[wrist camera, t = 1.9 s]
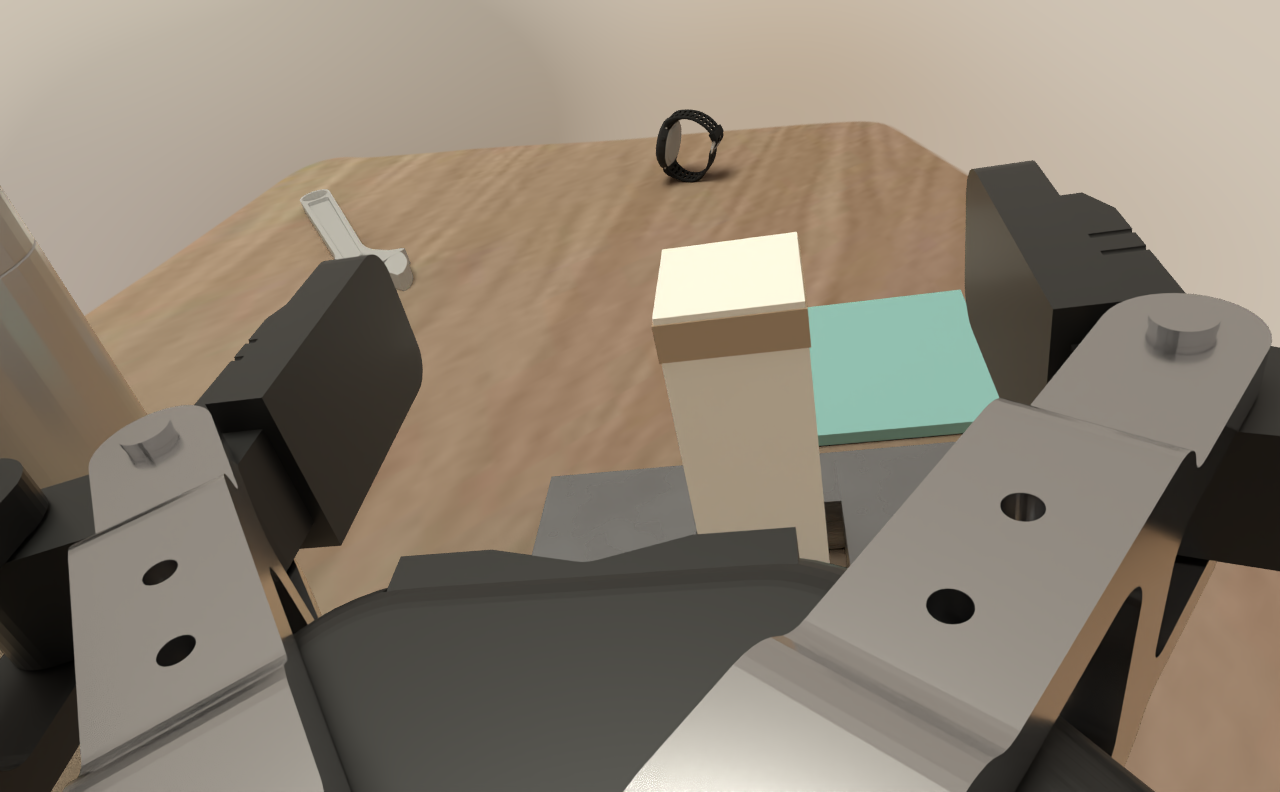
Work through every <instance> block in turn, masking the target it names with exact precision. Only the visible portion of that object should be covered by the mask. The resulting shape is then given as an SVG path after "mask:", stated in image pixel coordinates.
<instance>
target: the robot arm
mask: <svg viewBox="0 0 1280 792" xmlns="http://www.w3.org/2000/svg"><path fill="white" fill-rule="evenodd" d="M965 296H966V305H967V312H968V317H969V322H970V325H971V328H972V331H973V334H974V336H975V339H976V341H977V343H978V346H979V348H980V351H981V353H982V356H983V358H984V361H985V363H986V366H987V368H988V371H989V373H990V376H991V378H992V381H993V383H994V386H995V388H996V391H997V393H998V396H999V398H998V399H995V400H994V401H992V402H991V403H990V404H989V405H988V406H987V407H986V408H985V409H984V410H983V411H982V412H981V413H980V414H979V416H978V417H977V418H976V419H975V420H974V421H973V423H972V424H971V425H970V426H969V427H968V428H967V430H966V431H965V432H964V433H963V434H962V435H961V437H960V438H959V439H958V440H957V441H956V443H955V444H954V445H953V446H952V447H951V448H950V450H949V451H948V452H947V453H946V454H945V455H944V457H943V458H942V459H941V460H940V461H939V462H938V464H937V465H936V466H935V467H934V468H933V469H932V471H931V472H930V473H929V474H928V475H927V476H926V478H925V479H924V480H923V481H922V482H921V483H920V485H919V486H918V487H917V488H916V489H915V491H914V492H913V493H912V494H911V495H910V496H909V498H908V499H907V500H906V501H905V502H904V503H903V505H902V506H901V507H900V508H899V509H898V510H897V512H896V513H895V514H894V515H893V516H892V517H891V519H890V520H889V521H888V522H887V523H886V524H885V526H884V527H883V528H882V529H881V530H880V531H879V533H878V534H877V535H876V536H875V537H874V539H873V540H872V541H871V542H870V543H869V544H868V546H867V547H866V548H865V549H864V550H863V551H862V553H861V554H860V555H859V556H858V557H857V558H856V560H855V561H854V562H853V563H852V564H851V565H850V567H849V568H845V567H842V566H838V565H834V564H830V563H825V562H821V561H817V560H810V559H804V558H800V557H799V549H798V541H797V534H796V527H788V528H775V529H761V530H748V531H735V532H721V533H708V534H695V535H689V536H686V537H682V538H678V539H674V540H670V541H667V542H663V543H659V544H655V545H652V546H648V547H644V548H640V549H636V550H633V551H629V552H625V553H621V554H618V555H614V556H610V557H606V558H602V559H599V560H594V561H588V562H577V561H569V560H562V559H555V558H548V557H540V556H533V555H526V554H519V553H511V552H504V551H497V550H482V551H469V552H456V553H443V554H429V555H416V556H403V557H401V558H400V560H399V562H398V565H397V567H396V570H395V572H394V574H393V577H392V579H391V582H390V584H389V586H388V588H385V589H382V590H379V591H376V592H373V593H370V594H368V595H365V596H362V597H360V598H357V599H355V600H353V601H350V602H348V603H346V604H344V605H342V606H340V607H337V608H335V609H333V610H332V611H330V612H328V613H326V614H324V615H323V616H322V614H321V612H320V610H319V607H318V605H317V602H316V600H315V598H314V595H313V593H312V591H311V588H310V586H309V584H308V581H307V579H306V577H305V575H304V573H303V571H302V570H301V568H300V566H299V565H298V563H297V561H296V559H295V556H296V554H297V552H298V551H299V549H303V548H315V547H328V546H341V545H342V543H343V541H344V539H345V537H346V535H347V533H348V531H349V529H350V527H351V525H352V523H353V521H354V519H355V517H356V515H357V513H358V511H359V509H360V507H361V505H362V503H363V501H364V499H365V497H366V495H367V493H368V491H369V489H370V487H371V485H372V483H373V481H374V479H375V477H376V475H377V473H378V471H379V469H380V467H381V465H382V463H383V461H384V459H385V457H386V455H387V453H388V451H389V449H390V447H391V445H392V443H393V441H394V439H395V437H396V435H397V433H398V431H399V429H400V427H401V425H402V423H403V421H404V419H405V417H406V415H407V413H408V411H409V409H410V407H411V405H412V403H413V401H414V399H415V397H416V395H417V393H418V391H419V389H420V386H421V382H422V373H423V369H422V359H421V354H420V350H419V347H418V344H417V341H416V339H415V336H414V334H413V331H412V329H411V326H410V324H409V321H408V319H407V316H406V314H405V311H404V308H403V306H402V303H401V301H400V298H399V296H398V293H397V291H396V288H395V286H394V283H393V281H392V278H391V276H390V273H389V271H388V269H387V267H386V265H385V264H384V262H383V261H382V260H381V259H380V258H379V257H378V256H376V255H373V254H371V255H363V256H356V257H349V258H342V259H335V260H329V261H324V262H321V263H320V264H319V265H318V267H317V268H316V269H315V270H314V271H313V273H312V274H311V275H310V276H309V278H308V279H307V280H306V281H305V282H304V284H303V285H302V286H301V287H300V289H299V290H298V291H297V292H296V293H295V295H294V296H293V297H292V298H291V300H290V301H289V302H288V303H287V304H286V305H285V306H284V307H282V308H281V309H279V310H278V311H277V312H275V313H274V314H272V315H271V316H269V317H268V318H267V319H266V320H265V321H264V322H263V323H262V324H261V326H260V327H259V328H258V329H257V330H256V332H255V333H254V334H253V335H252V336H251V338H250V339H249V344H245V345H244V346H243V347H242V348H241V350H240V351H239V352H238V353H237V354H236V356H235V357H234V358H235V361H231V362H230V363H229V364H228V365H227V366H226V368H225V369H224V370H223V371H222V372H221V374H220V375H219V376H218V377H217V378H216V380H215V381H214V382H213V383H212V384H211V386H210V387H209V388H208V389H207V390H206V392H205V393H204V394H203V395H202V396H201V398H200V399H199V400H198V401H197V402H196V404H195V405H183V406H176V407H171V408H167V409H163V410H160V411H157V412H154V413H152V414H149V415H147V413H146V412H145V410H144V409H143V407H142V405H141V404H140V402H139V401H138V399H137V398H136V396H135V395H134V393H133V391H132V390H131V388H130V387H129V385H128V384H127V382H126V381H125V379H124V377H123V376H122V374H121V373H120V371H119V370H118V368H117V366H116V365H115V363H114V362H113V360H112V359H111V357H110V356H109V354H108V352H107V351H106V349H105V348H104V346H103V345H102V343H101V341H100V340H99V338H98V337H97V335H96V334H95V332H94V331H93V329H92V327H91V326H90V324H89V323H88V321H87V320H86V318H85V316H84V315H83V313H82V312H81V310H80V309H79V307H78V306H77V304H76V303H75V301H74V299H73V298H72V296H71V295H70V293H69V292H68V290H67V288H66V287H65V286H64V284H63V282H62V281H61V279H60V277H59V276H58V275H57V273H56V271H55V270H54V268H53V267H52V265H51V263H50V262H49V260H48V259H47V257H46V256H45V254H44V252H43V251H42V249H41V248H40V246H39V245H38V243H37V242H36V240H35V239H34V238H33V236H32V234H31V233H30V232H29V230H28V228H27V227H26V225H25V223H24V222H23V220H22V219H21V217H20V216H19V214H18V213H17V211H16V209H15V208H14V206H13V205H12V203H11V202H10V200H9V199H8V197H7V195H6V194H5V192H4V191H3V189H2V188H1V186H0V650H1V651H2V652H3V653H4V655H3V656H2V658H1V659H0V792H51V791H52V789H53V787H54V786H55V784H56V782H57V781H58V779H59V777H60V776H61V774H62V772H63V771H64V769H65V768H66V766H67V764H68V763H69V761H70V759H71V758H72V756H73V754H74V753H75V751H76V749H77V748H78V746H79V744H80V753H81V770H80V774H79V776H78V778H77V779H75V780H73V781H71V782H70V783H68V784H67V785H66V787H65V788H64V790H63V792H1155V791H1153V790H1152V789H1151V788H1150V787H1148V786H1147V785H1146V784H1144V783H1143V782H1142V781H1141V780H1139V779H1138V778H1137V777H1136V776H1134V775H1133V774H1132V773H1131V772H1129V771H1128V770H1127V769H1126V768H1124V766H1125V764H1126V761H1127V759H1128V757H1129V754H1130V752H1131V749H1132V747H1133V744H1134V741H1135V739H1136V736H1137V733H1138V730H1139V727H1140V724H1141V721H1142V718H1143V715H1144V712H1145V709H1146V706H1147V704H1148V701H1149V699H1150V696H1151V694H1152V692H1153V689H1154V687H1155V685H1156V683H1157V681H1158V679H1159V677H1160V675H1161V673H1162V671H1163V669H1164V667H1165V665H1166V663H1167V661H1168V659H1169V657H1170V655H1171V653H1172V651H1173V649H1174V647H1175V645H1176V643H1177V641H1178V639H1179V638H1180V636H1181V634H1182V632H1183V630H1184V628H1185V626H1186V624H1187V622H1188V620H1189V618H1190V616H1191V614H1192V612H1193V610H1194V608H1195V606H1196V604H1197V602H1198V600H1199V598H1200V596H1201V594H1202V592H1203V590H1204V588H1205V586H1206V584H1207V582H1208V580H1209V578H1210V576H1211V574H1212V572H1213V570H1214V568H1215V566H1216V563H1217V561H1218V562H1225V563H1231V564H1237V565H1244V566H1250V567H1256V568H1263V569H1269V570H1275V571H1280V348H1278V347H1273V346H1271V343H1272V336H1271V332H1270V330H1269V327H1268V326H1267V325H1266V324H1265V322H1264V321H1263V320H1262V319H1261V318H1259V317H1258V316H1257V315H1255V314H1254V313H1252V312H1251V311H1249V310H1247V309H1245V308H1243V307H1241V306H1239V305H1236V304H1234V303H1231V302H1228V301H1225V300H1222V299H1218V298H1213V297H1209V296H1202V295H1196V294H1186V293H1185V292H1184V291H1183V290H1182V288H1181V287H1180V286H1179V285H1178V283H1177V282H1176V281H1175V280H1174V279H1173V277H1172V276H1171V275H1170V274H1169V273H1168V272H1167V270H1166V269H1165V268H1164V267H1163V266H1162V264H1161V263H1160V262H1159V260H1157V258H1156V257H1155V256H1154V254H1153V253H1152V252H1151V251H1150V250H1146V245H1145V244H1144V242H1143V241H1142V240H1141V239H1140V237H1139V236H1138V235H1137V234H1136V233H1132V228H1131V227H1130V225H1129V224H1128V223H1127V222H1126V221H1125V219H1124V218H1123V217H1122V216H1121V214H1120V213H1119V212H1118V211H1117V210H1116V208H1114V207H1112V206H1110V205H1108V204H1106V203H1103V202H1101V201H1099V200H1097V199H1095V198H1093V197H1090V196H1088V195H1086V194H1084V193H1076V194H1069V195H1062V196H1060V195H1059V194H1058V192H1057V191H1056V190H1055V188H1054V187H1053V185H1052V184H1051V183H1050V181H1049V180H1048V178H1047V177H1046V176H1045V174H1044V173H1043V171H1042V170H1041V169H1040V167H1039V166H1038V165H1037V163H1036V162H1035V161H1033V160H1032V161H1025V162H1019V163H1012V164H1005V165H998V166H991V167H984V168H977V169H971V170H970V172H969V175H968V179H967V188H966V239H965Z"/></svg>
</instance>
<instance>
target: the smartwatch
mask: <svg viewBox="0 0 1280 792" xmlns="http://www.w3.org/2000/svg"><path fill="white" fill-rule="evenodd" d="M694 113H696V114H694ZM699 115H701V116H699ZM703 117H705V118H703ZM696 118H698V119H696ZM681 119H688V120H693V121H695V122H697V123H699V124H700V125H702V126H703V127H704V128H705V129H706V130H707V131H708V132H709V133H710V134H709V137H710V139H711V141H712V147H711V150H710V153H709V160H708V164H707V167H706V169H704V170H703V171H701V172H690V171H687V170H685V169H684V168H682V167H681V166H680V165H679V164H678V162H677V160H676V158H677V155H678V152H679V148H680V143H681V125H680V122H679V121H678V120H681ZM707 119H708V120H709V121H708V120H707ZM700 120H702V121H700ZM710 122H711V123H712V124H711V123H710ZM704 123H706V124H704ZM707 125H708V126H709V127H708V126H707ZM713 125H714V126H715V127H714V126H713ZM711 129H712V130H711ZM722 138H723V128H722V126H721V125H717V123H716V122H715V121H714V120H713V119H712V118H711V117H710V116H708V115H706V114H704V113H703V112H700V111H696V110H678V111H676V112H674V113H673V114H672V115H671V116H670V117H669V118H667V119H666V120H665V121H664V122H663V124H662V126H661V128H660V131H659V134H658V138H657V145H656V157H657V160H658V162H659V164H660V166H661V167H662V168H663V171H664V172H665V173H666V174H667V175H668V176H670V177H672V178H675V179H678V180H681V181H685V182H695V181H697V180H699V179H700V178H702V177H703V176H704V174H705V173H706V172H707V170H708V169H709V168H710V166H711V165H712V163H713V161H714V159H715V156H716V151H717V146H718V145H719V144H720V141H721V140H722ZM682 172H683V173H682ZM686 174H688V175H686ZM691 175H693V176H691ZM684 177H686V178H684ZM689 178H690V179H689Z"/></svg>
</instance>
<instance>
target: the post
mask: <svg viewBox="0 0 1280 792" xmlns="http://www.w3.org/2000/svg"><path fill="white" fill-rule="evenodd" d="M652 331H653V336H654V341H655V345H656V350H657V355H658V359H659V364H662V368H663V373H664V377H665V382H666V387H667V392H668V396H669V401H670V406H671V411H672V415H673V420H674V425H675V429H676V434H677V439H678V444H679V448H680V453H681V458H682V463H683V467H684V472H685V477H686V482H687V486H688V491H689V496H690V500H691V505H692V510H693V515H694V519H695V524H696V529H697V534H708V533H721V532H735V531H748V530H761V529H775V528H788V527H796V534H797V541H798V549H799V557H800V558H804V559H810V560H817V561H821V562H825V563H830V561H829V550H828V540H827V529H826V518H825V508H824V497H823V486H822V476H821V465H820V455H819V444H818V433H817V423H816V412H815V402H814V391H813V380H812V370H811V359H810V348H811V338H810V327H809V317H808V307H807V299H806V290H805V282H804V274H803V266H802V258H801V250H800V242H799V237H797V232H793V233H785V234H777V235H770V236H762V237H755V238H747V239H740V240H732V241H724V242H717V243H709V244H702V245H694V246H687V247H679V248H671V249H664V250H662V256H661V262H660V269H659V276H658V283H657V290H656V297H655V304H654V310H653V317H652Z"/></svg>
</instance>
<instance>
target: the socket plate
mask: <svg viewBox="0 0 1280 792" xmlns="http://www.w3.org/2000/svg"><path fill="white" fill-rule="evenodd" d="M955 443H956V442H947V443H936V444H924V445H913V446H901V447H890V448H878V449H867V450H855V451H844V452H832V453H820V454H819V455H820V465H821V476H822V486H823V497H824V508H825V518H826V529H827V540H828V549H836V548H845V551H846V558H847V566H848V568H849V567H850V565H851V564H852V563H853V562H854V561H855V560H856V558H857V557H858V556H859V555H860V554H861V553H862V551H863V550H864V549H865V548H866V547H867V546H868V544H869V543H870V542H871V541H872V540H873V539H874V537H875V536H876V535H877V534H878V533H879V531H880V530H881V529H882V528H883V527H884V526H885V524H886V523H887V522H888V521H889V520H890V519H891V517H892V516H893V515H894V514H895V513H896V512H897V510H898V509H899V508H900V507H901V506H902V505H903V503H904V502H905V501H906V500H907V499H908V498H909V496H910V495H911V494H912V493H913V492H914V491H915V489H916V488H917V487H918V486H919V485H920V483H921V482H922V481H923V480H924V479H925V478H926V476H927V475H928V474H929V473H930V472H931V471H932V469H933V468H934V467H935V466H936V465H937V464H938V462H939V461H940V460H941V459H942V458H943V457H944V455H945V454H946V453H947V452H948V451H949V450H950V448H951V447H952V446H953V445H954V444H955ZM695 534H697V529H696V524H695V519H694V515H693V510H692V505H691V500H690V496H689V491H688V486H687V482H686V477H685V472H684V467H683V465H682V466H670V467H659V468H647V469H636V470H624V471H613V472H601V473H590V474H578V475H566V476H555V477H551V481H550V485H549V489H548V493H547V497H546V501H545V505H544V509H543V513H542V517H541V521H540V525H539V529H538V533H537V537H536V541H535V545H534V549H533V553H532V555H533V556H540V557H548V558H555V559H562V560H569V561H577V562H588V561H594V560H599V559H602V558H606V557H610V556H614V555H618V554H621V553H625V552H629V551H633V550H636V549H640V548H644V547H648V546H652V545H655V544H659V543H663V542H667V541H670V540H674V539H678V538H682V537H686V536H689V535H695Z"/></svg>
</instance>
